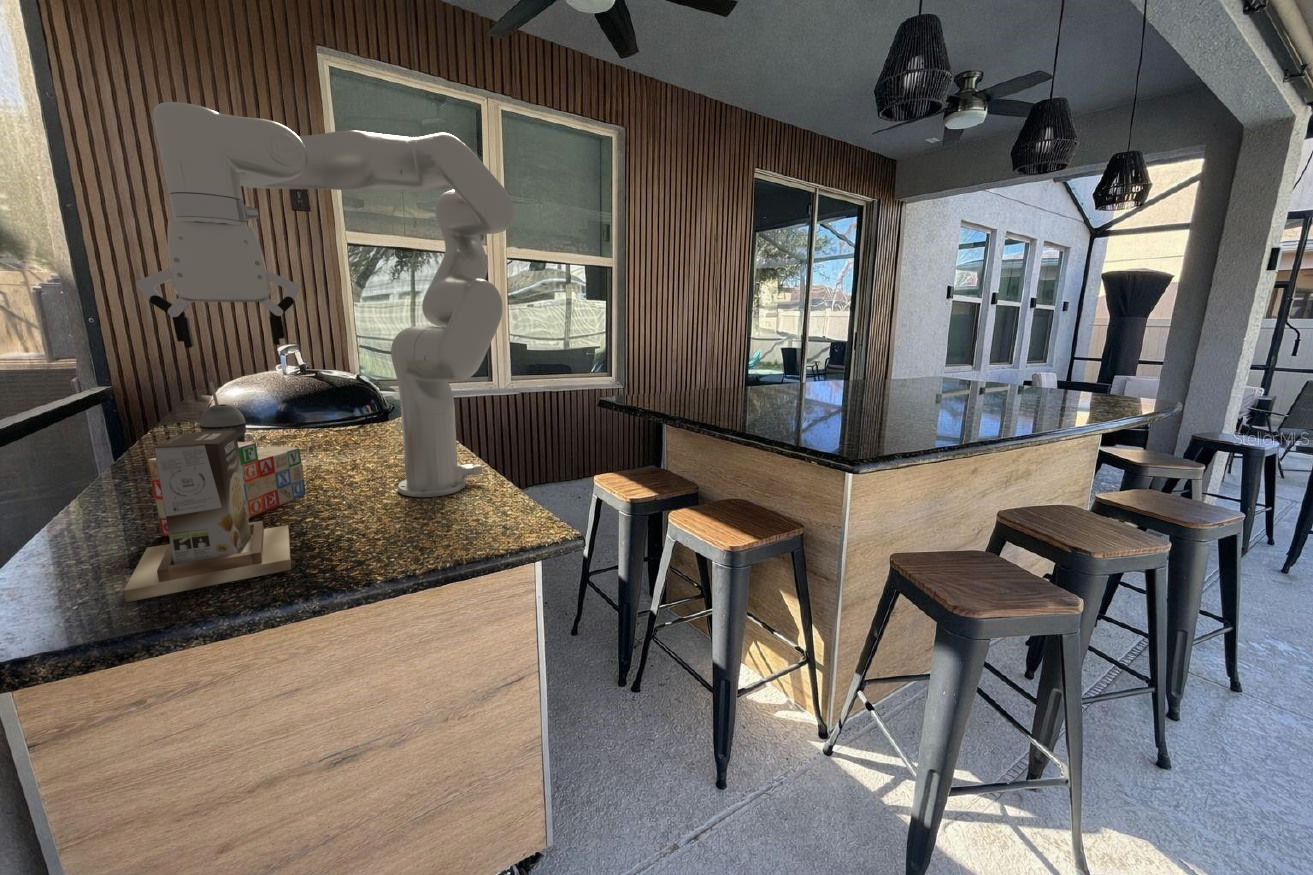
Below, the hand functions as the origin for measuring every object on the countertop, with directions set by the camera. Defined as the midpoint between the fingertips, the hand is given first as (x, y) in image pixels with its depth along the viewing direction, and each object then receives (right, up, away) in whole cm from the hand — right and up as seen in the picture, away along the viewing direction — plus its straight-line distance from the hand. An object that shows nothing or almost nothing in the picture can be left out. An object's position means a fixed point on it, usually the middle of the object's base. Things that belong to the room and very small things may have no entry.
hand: (235, 345), depth 74 cm
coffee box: (-1, -29, -2) cm, 29 cm away
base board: (-1, -30, -2) cm, 30 cm away
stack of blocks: (-12, -26, +17) cm, 33 cm away
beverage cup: (-27, -22, +33) cm, 48 cm away
